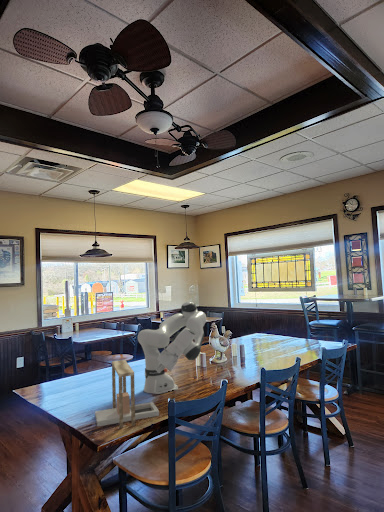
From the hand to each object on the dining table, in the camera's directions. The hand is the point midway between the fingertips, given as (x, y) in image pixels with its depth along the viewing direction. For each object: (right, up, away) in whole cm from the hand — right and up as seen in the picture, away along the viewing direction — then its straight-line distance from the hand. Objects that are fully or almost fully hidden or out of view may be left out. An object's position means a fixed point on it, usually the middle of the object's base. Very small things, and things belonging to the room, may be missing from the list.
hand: (157, 372), depth 192 cm
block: (-18, -19, -8) cm, 27 cm away
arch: (-18, -21, -8) cm, 29 cm away
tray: (-16, -21, -7) cm, 27 cm away
